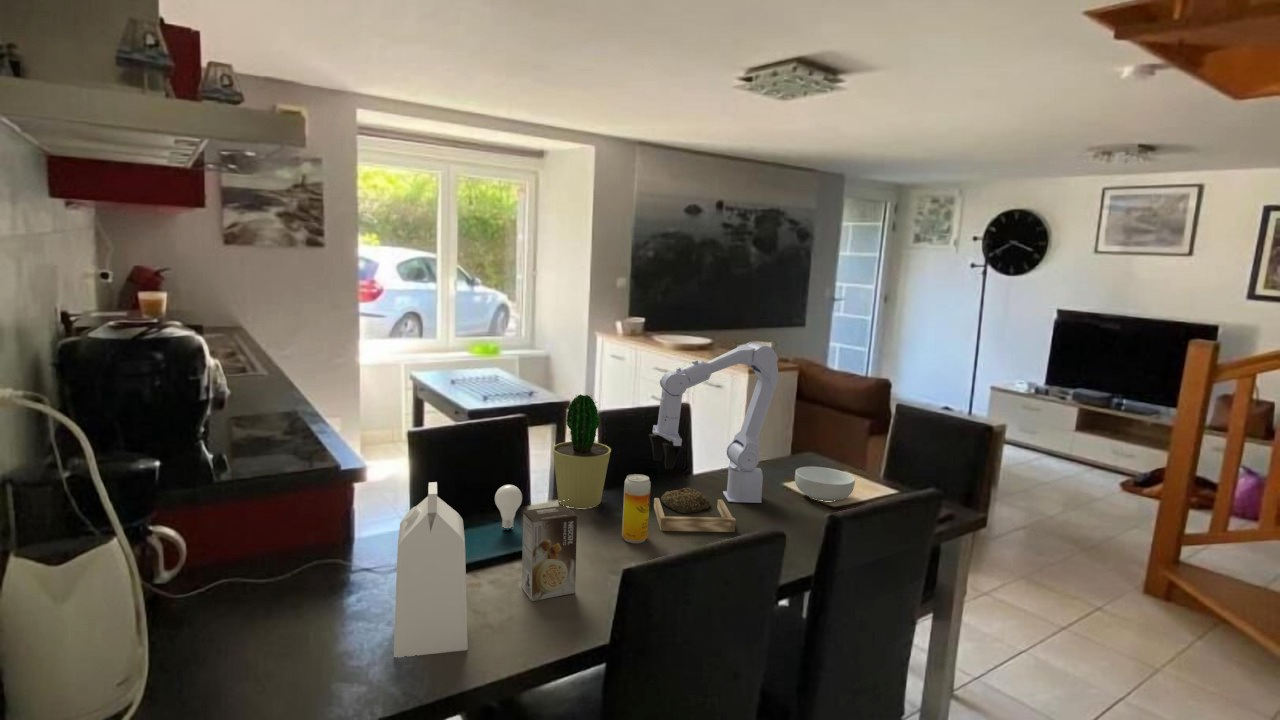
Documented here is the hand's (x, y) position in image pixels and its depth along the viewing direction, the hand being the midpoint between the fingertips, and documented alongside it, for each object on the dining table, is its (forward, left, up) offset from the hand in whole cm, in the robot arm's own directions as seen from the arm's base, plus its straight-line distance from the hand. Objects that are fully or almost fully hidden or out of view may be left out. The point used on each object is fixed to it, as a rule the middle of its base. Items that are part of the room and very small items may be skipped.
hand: (663, 464), depth 188 cm
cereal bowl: (-48, -6, -11) cm, 49 cm away
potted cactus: (+22, +2, -11) cm, 25 cm away
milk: (+47, +68, -11) cm, 84 cm away
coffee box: (+28, +52, -11) cm, 61 cm away
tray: (-7, +12, -10) cm, 18 cm away
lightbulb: (+39, +22, -11) cm, 46 cm away
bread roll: (-7, +2, -11) cm, 13 cm away
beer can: (+9, +26, -11) cm, 30 cm away
